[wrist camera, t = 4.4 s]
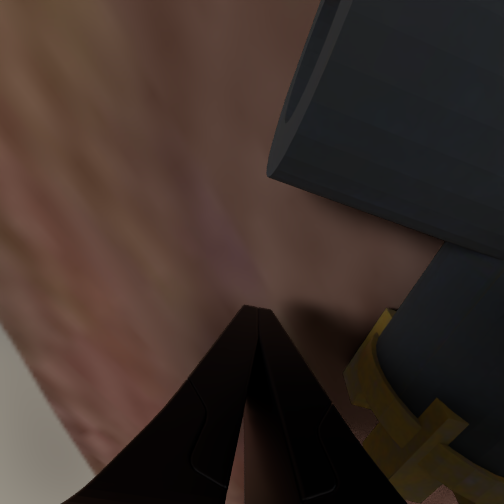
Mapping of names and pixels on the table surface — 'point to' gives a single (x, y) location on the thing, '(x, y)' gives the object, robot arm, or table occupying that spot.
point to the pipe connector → (416, 220)
